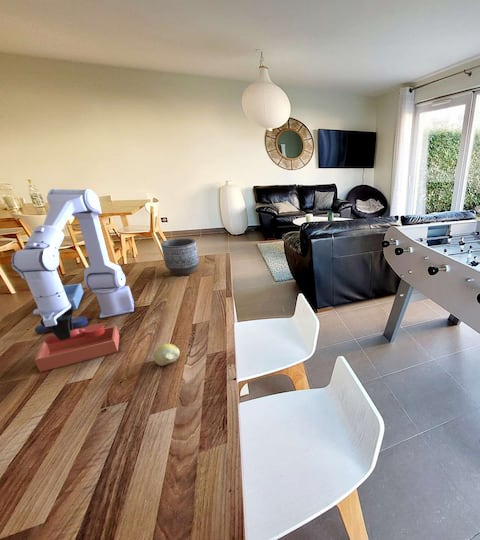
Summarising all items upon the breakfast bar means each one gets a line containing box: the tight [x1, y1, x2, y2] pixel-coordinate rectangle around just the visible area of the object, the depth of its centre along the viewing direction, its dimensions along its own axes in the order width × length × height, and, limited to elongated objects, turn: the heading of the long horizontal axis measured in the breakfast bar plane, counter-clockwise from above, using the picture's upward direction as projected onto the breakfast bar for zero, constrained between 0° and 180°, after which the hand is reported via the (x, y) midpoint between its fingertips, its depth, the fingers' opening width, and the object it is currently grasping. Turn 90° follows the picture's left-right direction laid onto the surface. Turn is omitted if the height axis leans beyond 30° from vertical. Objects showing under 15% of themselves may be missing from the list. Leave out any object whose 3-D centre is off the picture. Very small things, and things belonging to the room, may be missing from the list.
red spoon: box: [43, 323, 105, 344], centre depth 81 cm, size 12×4×3 cm, turn 125°
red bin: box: [34, 325, 120, 373], centre depth 83 cm, size 16×9×4 cm, turn 125°
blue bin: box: [36, 283, 84, 311], centre depth 108 cm, size 16×9×4 cm, turn 35°
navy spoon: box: [34, 315, 89, 334], centre depth 94 cm, size 12×4×3 cm, turn 125°
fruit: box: [153, 343, 181, 366], centre depth 82 cm, size 6×6×10 cm
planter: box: [160, 237, 200, 276], centre depth 138 cm, size 14×14×15 cm
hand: (66, 335), depth 80 cm, fingers closed on red spoon, 2 cm apart
